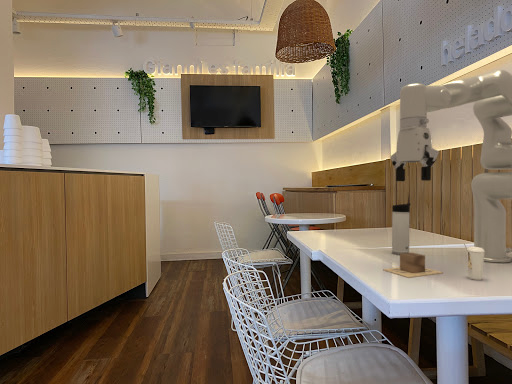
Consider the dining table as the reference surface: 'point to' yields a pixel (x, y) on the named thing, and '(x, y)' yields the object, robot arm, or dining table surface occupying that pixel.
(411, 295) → the dining table surface
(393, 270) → the letter
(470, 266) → the milkshake
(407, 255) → the walnut block
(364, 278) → the dining table surface
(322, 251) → the dining table surface
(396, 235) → the travel mug
